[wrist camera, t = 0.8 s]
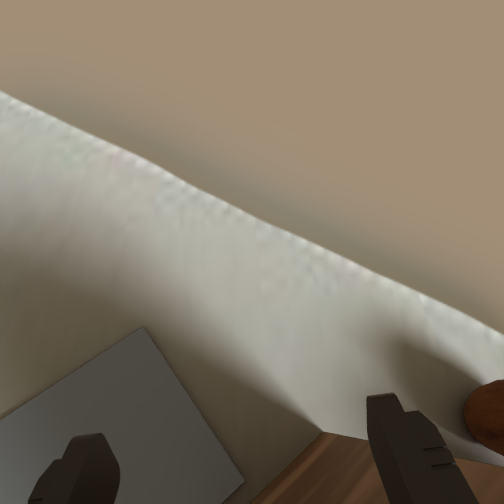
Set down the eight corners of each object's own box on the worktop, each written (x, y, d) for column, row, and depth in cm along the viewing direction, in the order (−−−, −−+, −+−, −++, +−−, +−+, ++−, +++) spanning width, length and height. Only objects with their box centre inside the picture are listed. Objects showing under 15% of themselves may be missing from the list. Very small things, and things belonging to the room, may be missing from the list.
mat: (-37, 445, 27) (-40, 446, 26) (143, 326, 32) (143, 326, 32) (61, 650, 23) (60, 654, 23) (244, 480, 29) (245, 481, 28)
